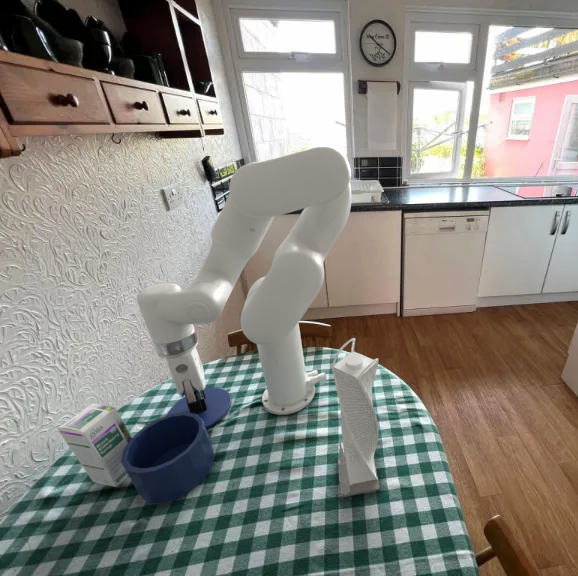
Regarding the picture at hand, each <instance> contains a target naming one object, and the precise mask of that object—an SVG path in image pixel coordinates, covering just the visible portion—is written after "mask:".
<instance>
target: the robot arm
mask: <svg viewBox="0 0 578 576" xmlns="http://www.w3.org/2000/svg"><path fill="white" fill-rule="evenodd" d="M351 177H352V171H351V166H350V163H349V161H348V159H347V158H346V156H345V155H344V154H343V152H341V151H340V150H339V149H338V148H335V147H334V146H331V145H326V144H318V145H317V144H316V145H314V146H311V147H310V148H307V149H303V150H300V151H297V152H293V153H290V154H286V155H283V156H279V157H275V158H271V159H267V160H262V161H252V162H249V163H246V164H243V165H241V166H240V167H239V168H237V169H236V171H234V173H233V175H232V176H231V178H230V181H229V186H228V190H229V194H228V196H227V199H226V201H225V203H224V205H223V207H222V209H221V210H220V213H219V215H218V217H217V219H216V221H215V223H214V225H213V227H212V230H211V233H210V237H211V240H212V241H211V242H212V243H211V247H210V248H209V251H208V254H207V256H206V258H205V260H204V263H202V266H201V268H200V270H199V271H198V273H197V276H196V277H195V279H193V281H192V282H191V284H190V285H189V286H187V287H186V288H184V289H183V288H182V287H181V286H179V285H178V284H176V283H172V282H163V283H157V284H152V285H149V286H147V287H145V288H143V289H141V290H140V291H139V292H138V293H137V295H136V302H137V306H138V308H139V311H140V313H141V317H142V318H143V322H144V324H145V326H146V328H147V331H148V334H149V336H150V338H151V341H152V344H153V346H154V350H155V352H156V354H157V356H158V357H160V358H163V359H165V361H166V364H167V367H168V370H169V373H170V375H171V378H172V381H173V384H174V386H175V389H176V391H177V393H178V395H179V396H180V397H181V398H184V397H186V400H187V405H188V408H189V410H190V413H193V414H199V413H202V412H205V411H207V406H206V403H205V400H204V398H205V399H206V396H205V393H204V389H206V379H205V377H206V376H205V371H204V365H203V363H202V361H201V358H200V356H199V355H200V354H199V353H198V350H197V346H198V345H199V339H198V335H197V333H196V329H195V326H197V325H198V326H199V325H201V326H202V325H208V324H212V323H214V322H215V321H217V320H219V318H220V317H221V315H222V314H223V311H224V310H225V307H226V304H227V302H228V299H229V298H230V296H231V293H232V292H233V290H234V288H235V286H236V283H237V282H238V279H239V278H240V276H241V274H242V272H243V270H244V268H245V266H246V265H247V264H248V262H249V260H250V259H251V258H252V257H254V256H255V254H256V253H257V251H258V250H259V248H260V245H261V244H262V241H264V238H265V236H266V234H267V232H268V230H269V228H270V227H271V224H273V223H272V222H273V221H274V220H275V217H278V216H282V215H287V214H290V213H293V212H297V211H300V210H302V211H301V213H300V215H299V217H298V219H297V220H296V222H295V224H294V225H293V227H292V228H291V230H290V231H289V232H288V234H287V236H286V237H285V238H284V240H283V241H282V242H281V244H280V245H279V246H278V247H277V249H276V251H275V252H274V255H273V259H272V263H271V266H270V268H269V270H268V272H267V274H266V275H264V276H262V277H260V278H258V279H257V280H256V281H255V282H253V284H252V285H251V287H250V288H249V290H248V292H247V295H246V298H245V301H244V305H243V308H242V310H241V314H240V321H239V322H240V328H241V330H242V331H241V332H243V334H244V336H245V338H247V339H248V340H249V341H250V342H252V343H253V344H256V347H257V353H258V357H259V362H260V366H261V370H262V374H263V379H264V384H265V390H264V392H263V394H262V396H261V400H262V401H261V403H262V405H263V407H264V409H265V410H266V411H267V412H269V413H271V414H274V415H277V416H284V415H285V416H286V415H291V414H295V413H297V412H299V411H302V410H303V409H304V408H305V407H307V406H308V405H309V404H310V403H311V402H312V400H313V399H314V397H315V393H316V387H315V386H316V384H317V383H321V382H324V381H326V380H327V374H326V373H325V372H321V373H319V372H318V369H314V370H312V371H310V372H308V371H306V364H305V357H304V351H303V345H302V338H301V331H300V326H299V325H300V321H301V320H302V318H303V317H304V315H305V314H306V312H307V311H308V310H309V308H310V307H311V305H312V303H313V302H314V301H315V299H316V298H317V296H318V294H319V293H320V291H321V289H322V287H323V283H324V280H325V267H324V262H325V260H326V257H327V256H328V254H329V253H330V252H331V250H332V248H333V246H334V245H335V243H336V241H337V240H338V238H339V237H340V235H341V234H342V232H343V230H344V228H345V226H346V224H347V222H348V220H349V217H350V213H351V207H352V187H351ZM194 325H195V326H194ZM201 390H202V392H203V395H204V397H203V396H201V393H200V391H201ZM194 392H197V394H196V395H194Z"/></svg>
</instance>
